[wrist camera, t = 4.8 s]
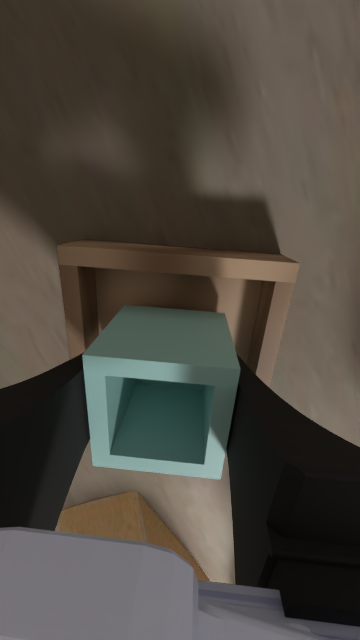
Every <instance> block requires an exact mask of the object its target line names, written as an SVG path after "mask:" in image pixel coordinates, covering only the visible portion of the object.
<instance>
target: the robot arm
mask: <svg viewBox="0 0 360 640" xmlns="http://www.w3.org/2000/svg"><path fill="white" fill-rule="evenodd" d="M83 353H84V352H83ZM83 353H81V354H80V355H78V356H76V357H74V358H72V359H71V360H69V361H67V362H65V363H63V364H61V365H59V366H57V367H55V368H53V369H51V370H49V371H47V372H45V373H42V374H40V375H38V376H35V377H33V378H30V379H28V380H25V381H23V382H20V383H17V384H14V385H11V386H8V387H5V388H2V389H0V640H360V447H358V446H356V445H354V444H352V443H350V442H348V441H346V440H344V439H343V438H341V437H339V436H337V435H335V434H333V433H332V432H330V431H328V430H327V429H325V428H323V427H322V426H320V425H318V424H317V423H315V422H314V421H312V420H311V419H309V418H307V417H306V416H304V415H303V414H301V413H300V412H299V411H297V410H296V409H294V408H293V407H292V406H291V405H289V404H288V403H287V402H285V401H284V400H283V399H282V398H280V397H279V396H278V395H277V394H276V393H274V392H273V391H272V390H271V389H270V388H269V387H268V386H267V385H266V384H265V383H264V382H263V381H262V380H261V379H260V378H259V377H258V376H257V375H256V374H255V373H254V372H253V371H252V370H251V369H250V368H249V367H248V366H247V365H246V363H245V362H244V361H243V360H242V359H241V358H240V357H239V356H238V355H237V358H238V362H239V366H240V369H241V370H240V375H239V381H238V386H237V392H236V397H235V403H234V408H233V414H232V419H231V425H230V430H229V436H228V441H227V447H226V451H227V457H228V465H229V476H230V489H231V504H232V519H233V538H234V556H235V580H236V585H234V584H226V583H218V582H210V581H202V580H197V578H196V575H195V572H194V569H193V567H192V566H191V565H190V563H189V562H188V561H186V560H185V559H184V558H182V557H181V556H179V555H178V554H177V553H175V552H174V551H173V550H171V549H169V548H165V547H162V546H158V545H154V544H151V543H147V542H142V541H134V540H125V539H117V538H108V537H100V536H92V535H83V534H75V533H66V532H58V531H55V528H56V525H57V522H58V519H59V516H60V513H61V511H62V508H63V505H64V502H65V499H66V497H67V494H68V491H69V488H70V486H71V483H72V480H73V478H74V475H75V473H76V470H77V467H78V465H79V462H80V460H81V457H82V455H83V452H84V450H85V448H86V446H87V444H88V442H89V440H90V430H89V420H88V410H87V399H86V389H85V379H84V369H83V358H82V355H83Z"/></svg>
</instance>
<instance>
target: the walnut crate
mask: <svg viewBox="0 0 360 640" xmlns="http://www.w3.org/2000/svg"><path fill="white" fill-rule="evenodd" d="M56 246H57V254H58V262H59V270H60V278H61V286H62V294H63V302H64V310H65V319H66V327H67V335H68V343H69V351H70V359H72V358H74V357H76V356H78V355H80V354H81V353H83V352H85V351H86V350H87V349H88V347H89V346H90V345H91V344H92V343H93V342H94V340H95V339H96V338H97V337H98V336H99V335H100V333H101V332H102V331H103V330H104V329H105V327H106V326H107V325H108V324H109V323H110V322H111V320H112V319H113V318H114V317H115V316H116V314H117V313H118V312H119V311H120V310H121V309H122V307H123V306H124V305H134V306H146V307H159V308H171V309H183V310H195V311H207V312H219V313H225V315H226V319H227V323H228V326H229V330H230V333H231V337H232V341H233V344H234V348H235V351H236V355H238V356H239V357H240V358H241V359H242V360H243V361H244V362H245V363H246V365H247V366H248V367H249V368H250V369H251V370H252V371H253V372H254V373H255V374H256V375H257V376H258V377H259V378H260V379H261V380H262V381H263V382H264V383H265V384H266V385H267V386H268V387H269V388H270V384H271V379H272V375H273V371H274V367H275V363H276V359H277V355H278V351H279V347H280V343H281V339H282V335H283V331H284V327H285V323H286V319H287V315H288V311H289V307H290V303H291V299H292V295H293V291H294V286H295V282H296V278H297V274H298V270H299V266H300V263H298V262H296V261H294V260H292V259H290V258H288V257H286V256H283V255H281V254H268V253H255V252H241V251H228V250H214V249H200V248H187V247H173V246H160V245H146V244H133V243H119V242H105V241H92V240H79V241H74V242H69V243H65V244H60V245H56Z"/></svg>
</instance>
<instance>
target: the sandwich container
mask: <svg viewBox="0 0 360 640" xmlns="http://www.w3.org/2000/svg"><path fill="white" fill-rule="evenodd" d="M58 525H59V532H66V533H75V534H83V535H92V536H100V537H108V538H117V539H125V540H134V541H142V542H147V543H151V544H154V545H158V546H162V547H165V548H169V549H171V550H173V551H174V552H175V553H177V554H178V555H179V556H181V557H182V558H184V559H185V560H186V561H188V562H189V563H190V565H191V566H192V567H193V569H194V572H195V575H196V578H197V580H202V581H209V579H208V578H207V577H206V575H205V574H204V573H203V571H202V570H201V569H200V567H199V566H198V565H197V563H196V562H195V561H194V559H193V558H192V557H191V555H190V554H189V553H188V551H187V550H186V549H185V548H184V547H183V545H182V544H181V543H180V542H179V541H178V539H177V538H176V537H175V536H174V535H173V534H172V532H171V531H170V530H169V529H168V528H167V526H166V525H165V524H164V523H163V522H162V521H161V519H160V518H159V517H158V516H157V515H156V513H155V512H154V511H153V510H152V509H151V508H150V506H149V505H148V504H147V503H146V502H145V500H144V499H143V498H142V497H141V496H140V495H139V493H138V492H137V491H130V492H126V493H122V494H118V495H114V496H110V497H105V498H101V499H97V500H93V501H90V502H87V503H84V504H80V505H77V506H74V507H71V508H68V509H64V510H62V511H61V513H60V516H59V519H58Z"/></svg>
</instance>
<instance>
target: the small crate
mask: <svg viewBox="0 0 360 640" xmlns="http://www.w3.org/2000/svg"><path fill="white" fill-rule="evenodd" d="M82 358H83V369H84V379H85V389H86V399H87V410H88V420H89V430H90V441H91V451H92V461H93V466H100V467H109V468H118V469H127V470H137V471H146V472H155V473H165V474H174V475H183V476H192V477H202V478H211V479H220V480H221V474H222V469H223V463H224V458H225V452H226V447H227V441H228V436H229V430H230V425H231V419H232V414H233V408H234V403H235V397H236V392H237V386H238V381H239V375H240V370H241V369H240V366H239V362H238V358H237V355H236V351H235V348H234V344H233V341H232V337H231V333H230V330H229V326H228V323H227V319H226V315H225V313H219V312H207V311H195V310H183V309H171V308H159V307H146V306H134V305H124V306H123V307H122V309H121V310H120V311H119V312H118V313H117V314H116V316H115V317H114V318H113V319H112V320H111V322H110V323H109V324H108V325H107V326H106V327H105V329H104V330H103V331H102V332H101V333H100V335H99V336H98V337H97V338H96V339H95V340H94V342H93V343H92V344H91V345H90V346H89V347H88V349H87V350H86V351H85V352H84V353H83V355H82Z"/></svg>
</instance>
